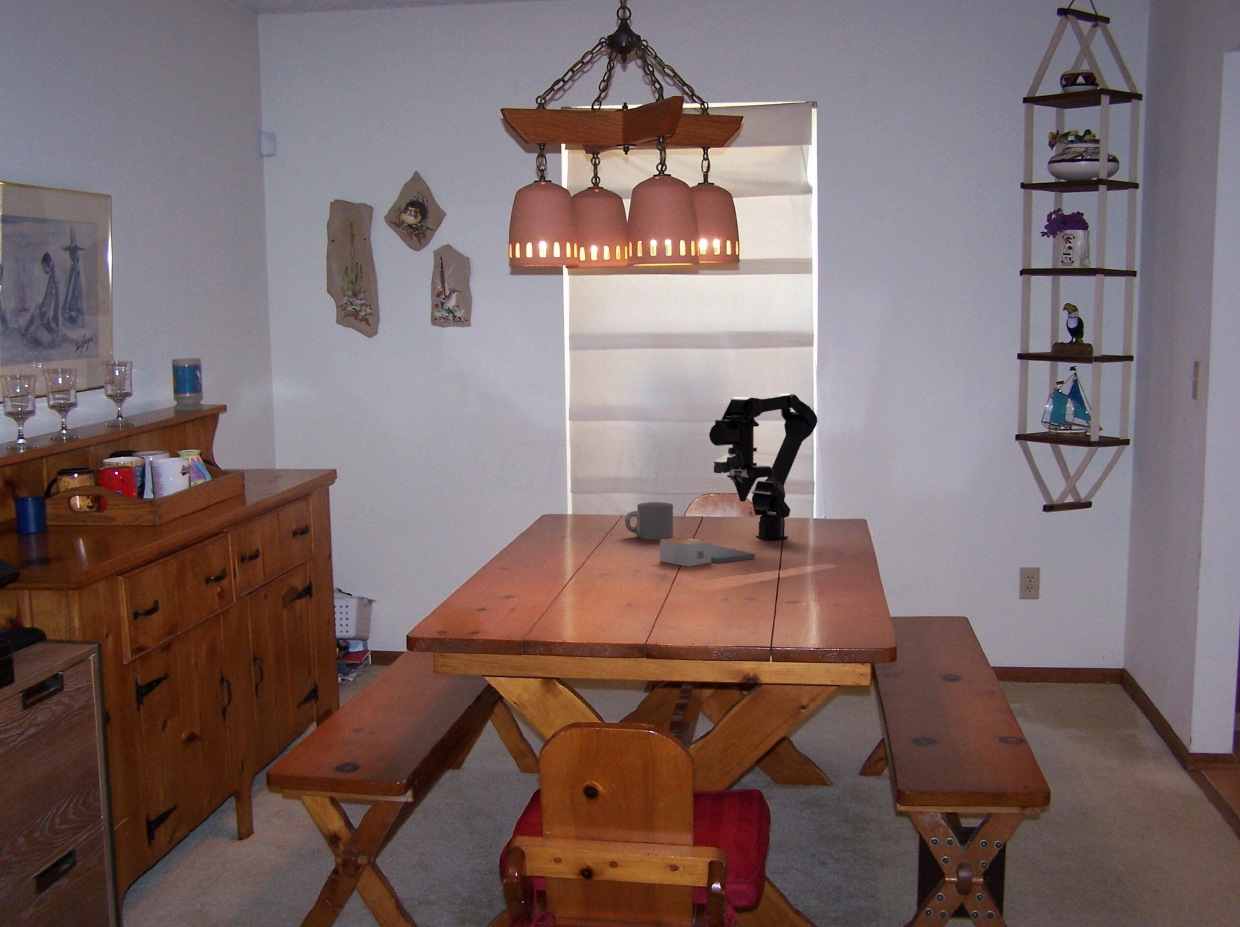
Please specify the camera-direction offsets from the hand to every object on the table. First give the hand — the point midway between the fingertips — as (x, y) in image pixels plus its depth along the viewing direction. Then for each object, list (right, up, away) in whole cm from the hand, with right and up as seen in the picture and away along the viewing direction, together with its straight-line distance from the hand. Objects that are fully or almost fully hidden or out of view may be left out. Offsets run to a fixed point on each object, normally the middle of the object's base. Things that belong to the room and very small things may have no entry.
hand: (742, 501), depth 314 cm
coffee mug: (-25, -11, +12) cm, 30 cm away
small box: (-13, -12, -29) cm, 34 cm away
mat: (-9, -14, -15) cm, 22 cm away
